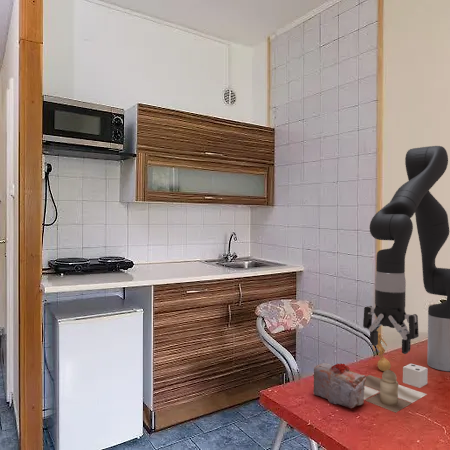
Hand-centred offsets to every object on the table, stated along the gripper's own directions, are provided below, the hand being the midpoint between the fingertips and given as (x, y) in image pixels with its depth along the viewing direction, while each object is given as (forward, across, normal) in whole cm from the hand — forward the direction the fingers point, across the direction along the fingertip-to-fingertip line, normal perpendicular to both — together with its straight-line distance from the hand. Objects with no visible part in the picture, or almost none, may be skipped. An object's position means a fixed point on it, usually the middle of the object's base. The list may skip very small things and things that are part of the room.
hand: (389, 349), depth 106 cm
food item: (+15, +9, +10) cm, 20 cm away
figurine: (+15, +14, -20) cm, 28 cm away
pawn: (+14, 0, 0) cm, 14 cm away
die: (+15, +2, -18) cm, 23 cm away
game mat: (+14, +4, -4) cm, 16 cm away
